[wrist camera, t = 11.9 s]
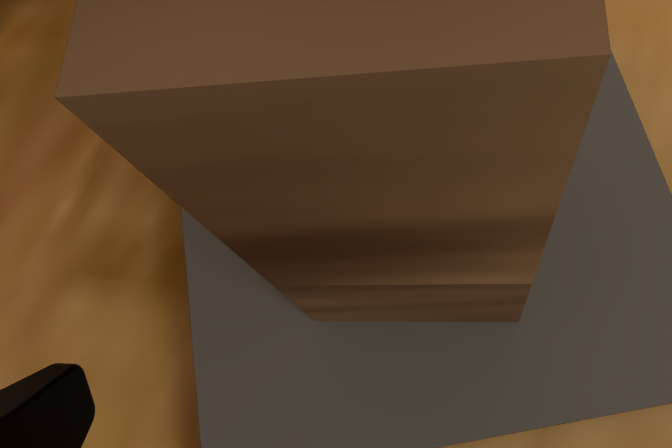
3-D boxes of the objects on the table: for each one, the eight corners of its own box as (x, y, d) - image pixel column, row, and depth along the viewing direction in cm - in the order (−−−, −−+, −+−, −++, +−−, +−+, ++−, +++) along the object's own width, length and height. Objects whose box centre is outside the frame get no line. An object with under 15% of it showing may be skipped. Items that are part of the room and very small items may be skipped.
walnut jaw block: (518, 322, 17) (610, 53, 6) (314, 321, 18) (55, 97, 7) (508, 134, 18) (560, -341, 7) (324, 144, 20) (135, -255, 9)
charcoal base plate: (218, 489, 18) (204, 490, 17) (185, 127, 22) (173, 113, 21) (735, 391, 16) (751, 386, 15) (584, 20, 20) (590, 0, 19)
